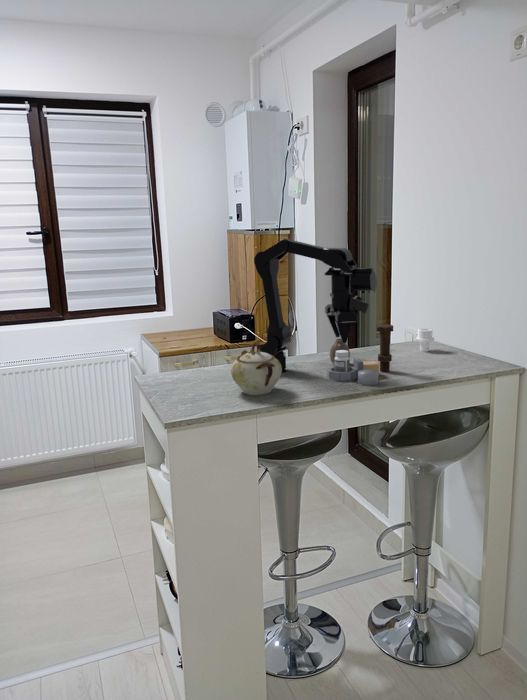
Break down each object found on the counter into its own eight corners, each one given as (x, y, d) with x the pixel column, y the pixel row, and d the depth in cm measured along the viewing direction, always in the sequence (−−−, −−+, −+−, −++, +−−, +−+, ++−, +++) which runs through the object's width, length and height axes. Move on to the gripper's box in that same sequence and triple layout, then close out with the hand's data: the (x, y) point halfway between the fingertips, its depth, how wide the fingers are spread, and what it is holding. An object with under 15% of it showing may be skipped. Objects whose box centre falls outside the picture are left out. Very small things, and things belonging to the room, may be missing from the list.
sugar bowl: (295, 395, 169) (294, 344, 165) (247, 404, 162) (245, 351, 159) (265, 380, 186) (264, 333, 183) (221, 387, 180) (219, 338, 177)
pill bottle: (343, 374, 190) (343, 348, 188) (352, 377, 186) (352, 351, 184) (331, 376, 188) (331, 350, 186) (340, 379, 183) (340, 353, 182)
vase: (327, 366, 200) (327, 341, 198) (332, 361, 207) (331, 337, 205) (348, 367, 198) (348, 341, 196) (351, 362, 205) (351, 337, 203)
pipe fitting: (421, 348, 223) (422, 327, 221) (437, 350, 218) (438, 329, 216) (411, 350, 219) (411, 329, 217) (427, 353, 214) (427, 331, 212)
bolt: (392, 373, 189) (393, 327, 185) (376, 373, 190) (377, 327, 186) (392, 368, 194) (393, 324, 191) (376, 368, 195) (377, 324, 192)
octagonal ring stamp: (331, 381, 182) (331, 365, 181) (325, 374, 191) (325, 358, 189) (381, 378, 183) (381, 362, 182) (372, 371, 192) (372, 355, 191)
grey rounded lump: (360, 386, 176) (360, 374, 175) (355, 380, 182) (355, 369, 181) (380, 385, 177) (380, 373, 176) (374, 379, 183) (374, 368, 182)
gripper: (375, 292, 172) (374, 344, 176) (358, 285, 191) (358, 333, 194) (337, 294, 171) (338, 346, 175) (324, 287, 190) (325, 334, 193)
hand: (341, 339), depth 184 cm, fingers open, 9 cm apart
